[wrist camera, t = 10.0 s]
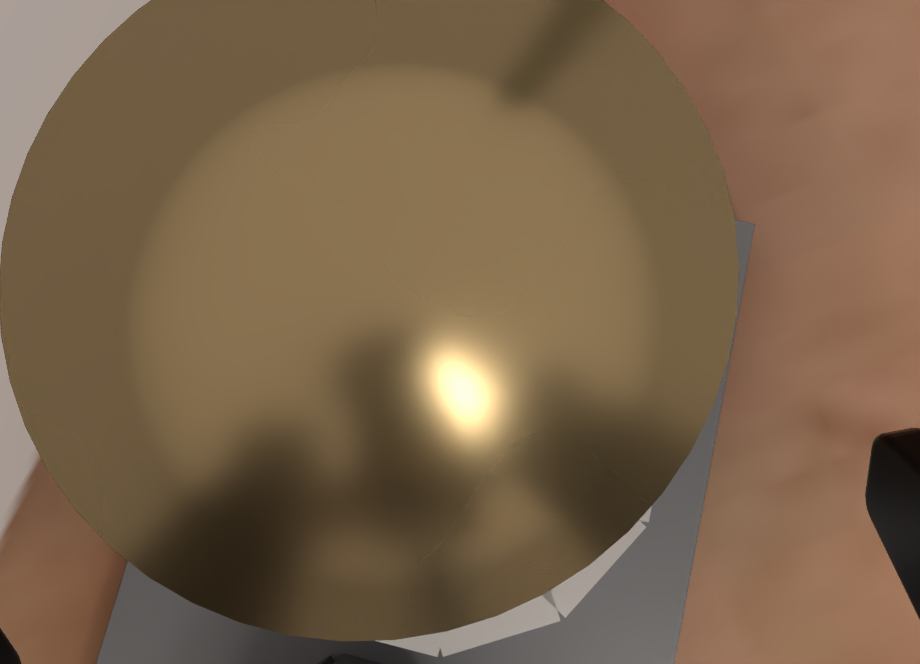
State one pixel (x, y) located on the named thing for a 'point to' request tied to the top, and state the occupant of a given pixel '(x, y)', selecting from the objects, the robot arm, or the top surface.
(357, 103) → the gold cylinder peg
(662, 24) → the top surface
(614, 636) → the fitting board
